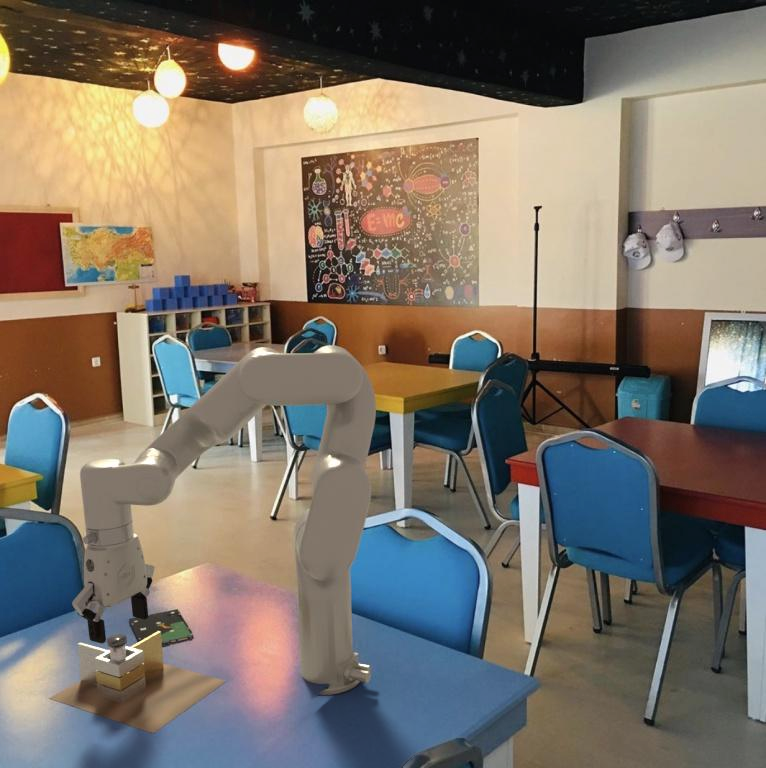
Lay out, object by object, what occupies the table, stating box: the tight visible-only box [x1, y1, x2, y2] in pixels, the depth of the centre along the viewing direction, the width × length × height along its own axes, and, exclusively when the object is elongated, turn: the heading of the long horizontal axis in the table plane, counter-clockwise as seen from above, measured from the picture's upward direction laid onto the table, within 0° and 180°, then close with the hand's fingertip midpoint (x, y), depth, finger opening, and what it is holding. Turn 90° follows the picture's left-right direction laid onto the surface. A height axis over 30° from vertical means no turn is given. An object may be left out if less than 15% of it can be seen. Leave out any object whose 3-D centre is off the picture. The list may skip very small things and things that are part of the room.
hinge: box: [77, 631, 164, 704], centre depth 148 cm, size 13×13×7 cm
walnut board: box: [49, 662, 228, 734], centre depth 145 cm, size 24×18×2 cm
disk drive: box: [128, 608, 195, 647], centre depth 168 cm, size 10×3×15 cm
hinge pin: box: [106, 633, 128, 662], centre depth 143 cm, size 3×3×10 cm
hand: (119, 629), depth 142 cm, fingers open, 9 cm apart
